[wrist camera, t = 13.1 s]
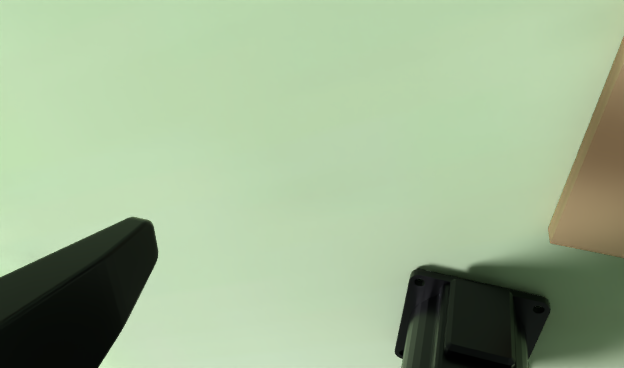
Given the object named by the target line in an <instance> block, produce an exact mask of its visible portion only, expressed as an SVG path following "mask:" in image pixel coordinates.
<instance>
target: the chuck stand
mask: <svg viewBox="0 0 624 368" xmlns="http://www.w3.org/2000/svg"><path fill="white" fill-rule="evenodd" d="M548 232H549V239H550V243H551V244H556V245H561V246H566V247H571V248H576V249H581V250H586V251H591V252H596V253H601V254H606V255H611V256H616V257H621V258H624V37H623V40H622V42H621V45H620V47H619V50H618V52H617V55H616V57H615V60H614V62H613V65H612V68H611V70H610V73H609V75H608V78H607V80H606V83H605V85H604V88H603V90H602V93H601V95H600V98H599V100H598V103H597V106H596V108H595V111H594V113H593V116H592V118H591V121H590V123H589V126H588V128H587V131H586V133H585V136H584V138H583V141H582V144H581V146H580V149H579V151H578V154H577V156H576V159H575V161H574V164H573V166H572V169H571V171H570V174H569V176H568V179H567V182H566V184H565V187H564V189H563V192H562V194H561V197H560V199H559V202H558V204H557V207H556V209H555V212H554V214H553V217H552V220H551V222H550V225H549V227H548Z"/></svg>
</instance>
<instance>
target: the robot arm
mask: <svg viewBox="0 0 624 368" xmlns="http://www.w3.org/2000/svg"><path fill="white" fill-rule="evenodd" d="M157 258H158V247H157V242H156V236H155V231H154V226H153V224H152V222H151V221H149V220H146V219H141V218H137V217H130V218H127V219H125V220H123V221H120V222H118V223H116V224H114V225H112V226H110V227H108V228H105V229H103V230H101V231H99V232H97V233H95V234H93V235H90V236H88V237H86V238H84V239H82V240H80V241H77V242H75V243H73V244H71V245H69V246H67V247H65V248H62V249H60V250H58V251H56V252H54V253H52V254H50V255H47V256H45V257H43V258H41V259H39V260H37V261H35V262H32V263H30V264H28V265H26V266H24V267H22V268H19V269H17V270H15V271H13V272H11V273H9V274H7V275H4V276H2V277H0V368H98V367H99V366H100V364H101V362H102V361H103V359H104V358H105V356H106V355H107V353H108V351H109V350H110V348H111V347H112V345H113V344H114V342H115V341H116V339H117V337H118V336H119V334H120V332H121V331H122V329H123V327H124V326H125V324H126V322H127V320H128V318H129V316H130V314H131V312H132V310H133V308H134V306H135V304H136V302H137V300H138V298H139V296H140V294H141V292H142V290H143V288H144V286H145V284H146V282H147V280H148V278H149V276H150V274H151V272H152V270H153V268H154V266H155V264H156V262H157ZM417 279H422V280H423V281H419V280H417ZM535 306H542V307H535ZM549 313H550V303H549V301H548V299H546V298H545V297H542V296H539V295H534V294H530V293H525V292H521V291H516V290H512V289H507V288H503V287H498V286H494V285H489V284H485V283H480V282H476V281H471V280H467V279H462V278H458V277H453V276H449V275H444V274H439V273H435V272H430V271H426V270H420V269H417V270H414V271H413V272H412V273H411V275H410V279H409V284H408V289H407V294H406V299H405V303H404V308H403V313H402V318H401V323H400V328H399V333H398V337H397V342H396V347H395V354H396V355H397V356H398V357H399V358H402V359H403V360H402V366H401V368H529V367H528V359H529V357H530V355H531V353H532V351H533V348H534V346H535V344H536V342H537V340H538V337H539V335H540V333H541V331H542V329H543V326H544V324H545V322H546V320H547V318H548V315H549Z"/></svg>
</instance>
